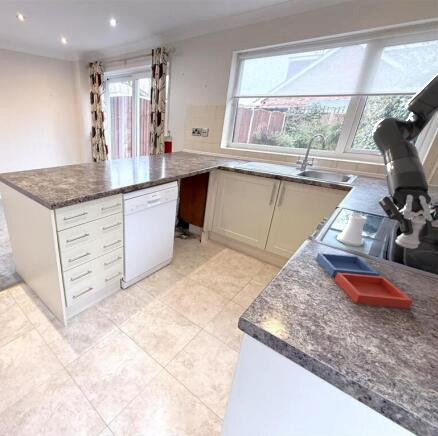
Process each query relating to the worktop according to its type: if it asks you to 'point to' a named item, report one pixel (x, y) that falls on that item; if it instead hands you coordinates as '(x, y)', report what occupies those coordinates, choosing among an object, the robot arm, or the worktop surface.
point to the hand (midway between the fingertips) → (417, 235)
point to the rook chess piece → (412, 239)
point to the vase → (353, 230)
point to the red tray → (372, 290)
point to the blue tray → (345, 264)
